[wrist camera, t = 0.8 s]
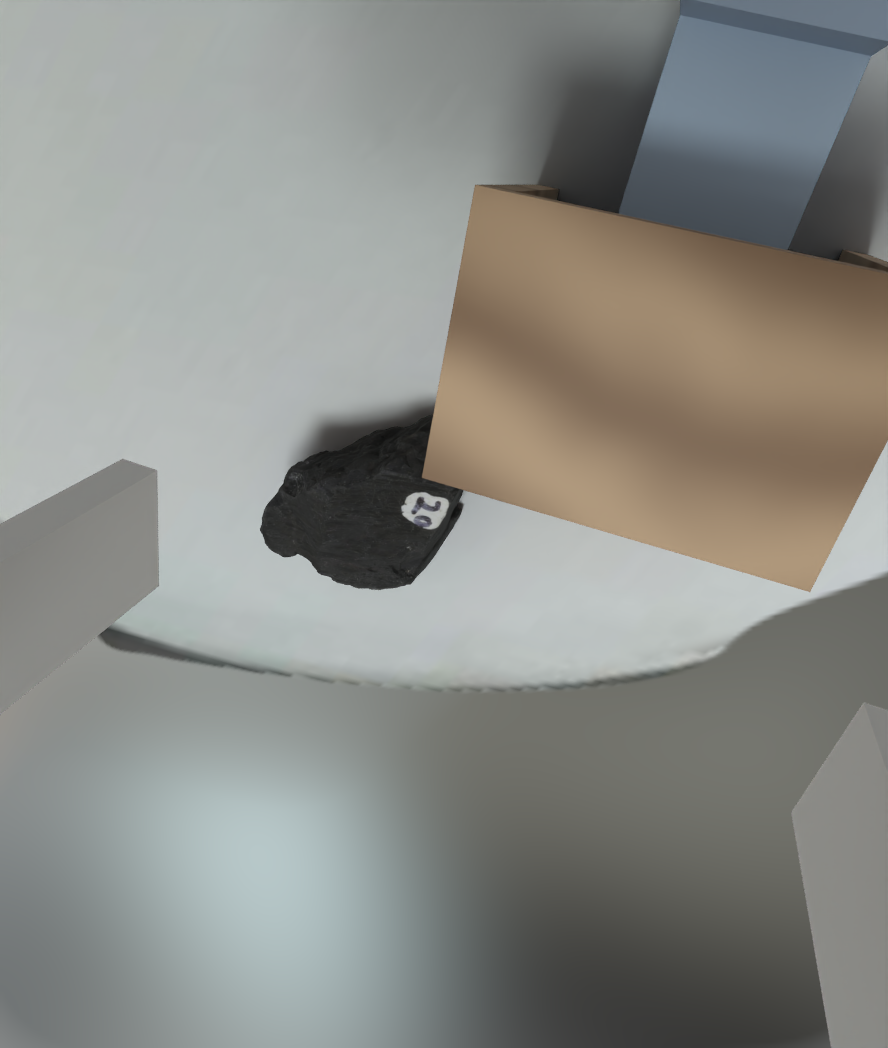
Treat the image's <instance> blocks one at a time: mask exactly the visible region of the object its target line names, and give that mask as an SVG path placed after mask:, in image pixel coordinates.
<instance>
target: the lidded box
mask: <svg viewBox="0 0 888 1048" xmlns="http://www.w3.org/2000/svg"><path fill="white" fill-rule="evenodd" d="M887 45H888V0H680V17H679V20H678V23H677V27H676V30H675V33H674V36H673V39H672V42H671V46H670V49H669V52H668V55H667V58H666V62H665V65H664V68H663V71H662V74H661V78H660V81H659V84H658V87H657V90H656V94H655V97H654V100H653V103H652V106H651V110H650V113H649V116H648V119H647V122H646V126H645V129H644V132H643V135H642V138H641V142H640V145H639V148H638V151H637V154H636V158H635V161H634V164H633V167H632V170H631V174H630V177H629V180H628V183H627V186H626V190H625V193H624V196H623V199H622V202H621V205H620V209H619V212H618V214H622V215H627V216H631V217H636V218H640V219H645V220H650V221H654V222H659V223H664V224H668V225H673V226H678V227H682V228H687V229H691V230H696V231H701V232H705V233H710V234H715V235H719V236H724V237H729V238H733V239H738V240H743V241H747V242H752V243H756V244H761V245H766V246H770V247H775V248H780V249H784V250H788V248H789V246H790V243H791V241H792V239H793V236H794V234H795V232H796V229H797V227H798V225H799V222H800V220H801V218H802V215H803V213H804V211H805V208H806V206H807V204H808V201H809V199H810V197H811V194H812V192H813V190H814V187H815V185H816V183H817V181H818V178H819V176H820V174H821V171H822V169H823V167H824V164H825V162H826V160H827V157H828V155H829V153H830V150H831V148H832V146H833V143H834V141H835V139H836V136H837V134H838V132H839V129H840V127H841V125H842V122H843V120H844V118H845V115H846V113H847V111H848V108H849V106H850V104H851V102H852V99H853V97H854V95H855V92H856V90H857V88H858V85H859V83H860V81H861V78H862V76H863V74H864V71H865V69H866V67H867V64H868V62H869V60H870V57H871V56H872V55H874V54H875V53H877V52H878V51H880V50H881V49H883V48H884V47H886V46H887Z"/></svg>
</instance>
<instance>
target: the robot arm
mask: <svg viewBox="0 0 888 1048" xmlns="http://www.w3.org/2000/svg"><path fill="white" fill-rule="evenodd" d="M158 586H159V557H158V493H157V470H155V469H152V468H149V467H146V466H143V465H139V464H136V463H133V462H130V461H127V460H124V459H122V460H120V461H118V462H116V463H114V464H112V465H110V466H108V467H107V468H105V469H103V470H101V471H99V472H97V473H95V474H93V475H91V476H90V477H88V478H86V479H84V480H82V481H80V482H78V483H76V484H75V485H73V486H71V487H69V488H67V489H65V490H63V491H61V492H59V493H58V494H56V495H54V496H52V497H50V498H48V499H46V500H44V501H42V502H41V503H39V504H37V505H35V506H33V507H31V508H29V509H27V510H26V511H24V512H22V513H20V514H18V515H16V516H14V517H12V518H10V519H9V520H7V521H5V522H3V523H1V524H0V714H1V713H3V712H4V711H5V710H6V709H8V708H9V707H10V706H11V705H12V704H14V703H15V702H16V701H17V700H19V699H20V698H21V697H22V696H24V695H25V694H26V693H27V692H29V691H30V690H31V689H32V688H34V687H35V686H36V685H37V684H39V683H40V682H41V681H42V680H43V679H45V678H46V677H47V676H48V675H50V674H51V673H52V672H53V671H55V670H56V669H57V668H58V667H59V666H61V665H62V664H63V663H64V662H66V661H67V660H68V659H69V658H70V657H72V656H73V655H74V654H75V653H77V652H78V651H79V650H80V649H82V648H83V647H84V646H85V645H87V644H88V643H89V642H90V641H92V640H93V639H94V638H95V637H96V636H98V635H99V634H100V633H101V632H103V631H104V630H105V629H106V628H108V627H109V626H110V625H111V624H113V623H114V622H115V621H116V620H117V619H119V618H120V617H121V616H122V615H124V614H125V613H126V612H127V611H129V610H130V609H131V608H132V607H133V606H135V605H136V604H137V603H138V602H140V601H141V600H142V599H143V598H145V597H146V596H147V595H148V594H150V593H151V592H152V591H153V590H154V589H156V588H157V587H158ZM791 813H792V819H793V825H794V831H795V837H796V843H797V848H798V855H799V861H800V867H801V872H802V878H803V884H804V890H805V896H806V902H807V908H808V914H809V919H810V925H811V931H812V937H813V943H814V949H815V955H816V961H817V967H818V973H819V978H820V984H821V990H822V996H823V1002H824V1008H825V1014H826V1020H827V1026H828V1032H829V1038H830V1043H831V1048H888V710H886V709H883V708H880V707H877V706H874V705H871V704H867V703H863V704H862V706H861V707H860V709H859V710H858V712H857V713H856V715H855V716H854V718H853V719H852V721H851V722H850V724H849V725H848V727H847V728H846V730H845V732H844V733H843V735H842V736H841V738H840V739H839V741H838V742H837V744H836V745H835V747H834V748H833V750H832V751H831V753H830V754H829V756H828V757H827V759H826V760H825V762H824V763H823V765H822V766H821V768H820V770H819V771H818V773H817V774H816V776H815V777H814V779H813V780H812V782H811V783H810V785H809V786H808V788H807V789H806V791H805V792H804V794H803V795H802V797H801V798H800V800H799V801H798V803H797V804H796V806H795V807H794V809H793V811H792V812H791Z"/></svg>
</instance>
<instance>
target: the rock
mask: <svg viewBox="0 0 888 1048" xmlns="http://www.w3.org/2000/svg"><path fill="white" fill-rule="evenodd" d="M432 419H433V415H430V416H428V417H425V418H422V419H421V420H419V421H418V422H417V423H416V424H414V425H412V426H410V427H405V428H399V427H392V428H389V429H387V430H379V431H375V432H373V433H372V434H370V435H368V436H365V437H363V438H361V439H359V440H358V441H356V442H355V443H354V444H352V445H350V446H348V447H346V448H344V449H342V450H340V451H333V452H328V451H324V452H320V453H318V454H315V455H313V456H310V457H309V458H307V459H306V460H304V461H301V462H298V463H297V464H296V465H294V466H292V467H291V468H290V469H289V471H288V472H287V474H286V476H285V479H284V483H283V485H282V486H281V487H280V488H279V491H278V493H277V494H276V495H275V496H274V498H273V499H272V500H271V501H270V502H269V503H268V504H267V506H266V507H265V510H264V513H263V517H262V525H261V528H260V531H261V533H262V534H263V537H264V540H265V544H266V545H267V546H268V547H269V549H271V550H272V551H273V552H275V553H277V554H279V555H281V556H282V557H291V556H295V555H296V554H299V555H302V556H303V557H305V558H307V559H308V560H309V561H310V562H311V563H312V565H313V566H314V568H315V569H316V570H317V572H318V573H319V574H321V575H325V576H329V577H331V578H332V580H333V581H335V582H337V583H341V584H344V585H351V586H353V587H355V588H369V589H371V590H373V589H375V590H381V589H388V588H397V587H400V586H405V585H407V584H411V583H412V582H413V581H414V580H415V578H416V577H417V576H418V575H419V574H420V573H421V572H422V571H423V570H424V569H425V568H426V566H427V565H428V564H429V563H430V561H431V560H432V559H433V558H434V556H435V555H436V553H437V551H438V550H439V548H440V547H441V545H442V544H443V542H444V541H445V539H446V537H447V536H448V535H449V533H450V532H451V530H452V529H453V527H454V525H455V523H456V521H457V520H458V518H459V517H460V515H461V509H459V508H458V507H457V504H458V502H459V499H460V497H461V496H462V492H463V490H462V489H458V488H455V487H452V486H448V485H445V484H441V483H438V482H435V481H431V480H428V479H424V478H422V474H423V469H424V463H425V458H426V452H427V447H428V441H429V436H430V430H431V425H432Z"/></svg>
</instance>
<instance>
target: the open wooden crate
mask: <svg viewBox="0 0 888 1048" xmlns="http://www.w3.org/2000/svg"><path fill="white" fill-rule="evenodd" d="M558 192H559V189H556V188H551V187H546V186H541V185H475V188H474V194H473V199H472V205H471V210H470V216H469V221H468V227H467V232H466V238H465V243H464V249H463V254H462V260H461V265H460V271H459V276H458V282H457V287H456V293H455V298H454V304H453V309H452V315H451V320H450V326H449V331H448V337H447V342H446V348H445V353H444V359H443V364H442V370H441V375H440V381H439V386H438V392H437V397H436V403H435V408H434V414H433V419H432V425H431V430H430V436H429V441H428V447H427V452H426V458H425V463H424V469H423V474H422V478H424V479H428V480H431V481H435V482H438V483H441V484H445V485H448V486H452V487H455V488H458V489H462V490H465V491H469V492H472V493H475V494H479V495H482V496H486V497H489V498H492V499H496V500H499V501H503V502H506V503H509V504H513V505H516V506H520V507H523V508H526V509H530V510H533V511H537V512H540V513H543V514H547V515H550V516H554V517H557V518H560V519H564V520H567V521H571V522H574V523H577V524H581V525H584V526H588V527H591V528H594V529H598V530H601V531H605V532H608V533H611V534H615V535H618V536H622V537H625V538H628V539H632V540H635V541H639V542H642V543H645V544H649V545H652V546H656V547H659V548H662V549H666V550H669V551H673V552H676V553H679V554H683V555H686V556H690V557H693V558H696V559H700V560H703V561H707V562H710V563H713V564H717V565H720V566H724V567H727V568H730V569H734V570H737V571H741V572H744V573H747V574H751V575H754V576H758V577H761V578H764V579H768V580H771V581H775V582H778V583H781V584H785V585H788V586H792V587H795V588H798V589H802V590H805V591H809V592H810V591H811V589H812V587H813V585H814V583H815V581H816V579H817V577H818V575H819V573H820V571H821V569H822V567H823V566H824V564H825V562H826V560H827V558H828V556H829V554H830V552H831V550H832V548H833V546H834V544H835V542H836V540H837V538H838V536H839V534H840V532H841V530H842V528H843V527H844V525H845V523H846V521H847V519H848V517H849V515H850V513H851V511H852V509H853V507H854V505H855V503H856V501H857V499H858V497H859V495H860V493H861V491H862V489H863V488H864V486H865V484H866V482H867V480H868V478H869V476H870V474H871V472H872V470H873V468H874V466H875V464H876V462H877V460H878V458H879V456H880V454H881V452H882V451H883V449H884V447H885V445H886V443H887V441H888V262H886V261H883V260H881V259H878V258H875V257H872V256H870V255H866V254H861V253H857V252H852V251H847V250H842V253H841V255H840V258H839V260H838V261H835V260H831V259H826V258H821V257H817V256H812V255H807V254H803V253H798V252H794V251H789V250H784V249H780V248H775V247H770V246H766V245H761V244H756V243H752V242H747V241H743V240H738V239H733V238H729V237H724V236H719V235H715V234H710V233H705V232H701V231H696V230H691V229H687V228H682V227H678V226H673V225H668V224H664V223H659V222H654V221H650V220H645V219H640V218H636V217H631V216H627V215H622V214H617V213H613V212H608V211H603V210H599V209H594V208H589V207H585V206H580V205H575V204H571V203H566V202H562V201H557V197H558Z"/></svg>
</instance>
